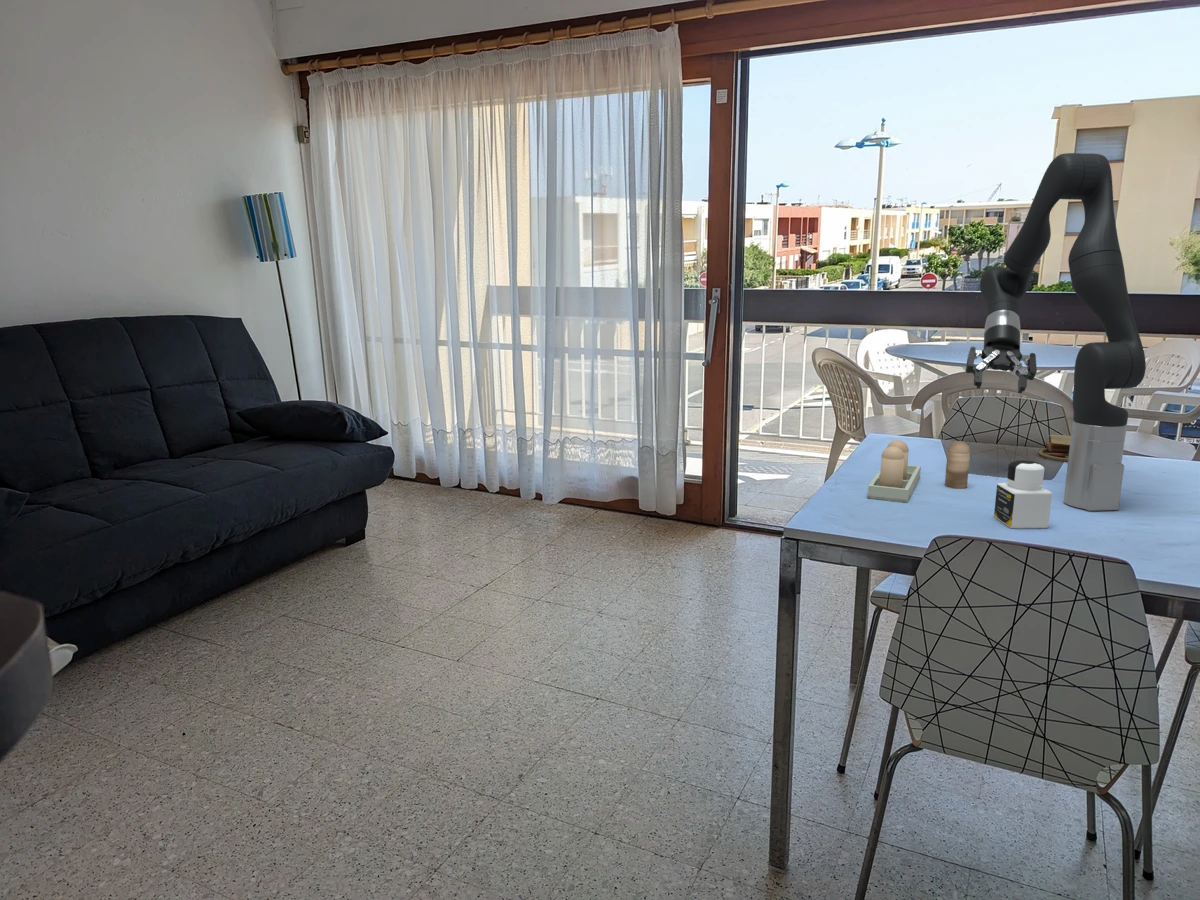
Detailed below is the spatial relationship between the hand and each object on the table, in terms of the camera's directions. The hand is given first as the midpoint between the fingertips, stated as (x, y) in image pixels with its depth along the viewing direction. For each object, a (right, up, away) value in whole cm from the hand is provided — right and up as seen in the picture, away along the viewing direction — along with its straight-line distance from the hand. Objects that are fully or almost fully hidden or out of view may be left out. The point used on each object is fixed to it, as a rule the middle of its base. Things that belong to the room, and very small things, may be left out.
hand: (999, 388), depth 176 cm
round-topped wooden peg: (-9, -22, +1) cm, 24 cm away
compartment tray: (-23, -22, +1) cm, 32 cm away
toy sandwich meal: (+30, -16, +26) cm, 42 cm away
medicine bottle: (-8, -28, -24) cm, 38 cm away
